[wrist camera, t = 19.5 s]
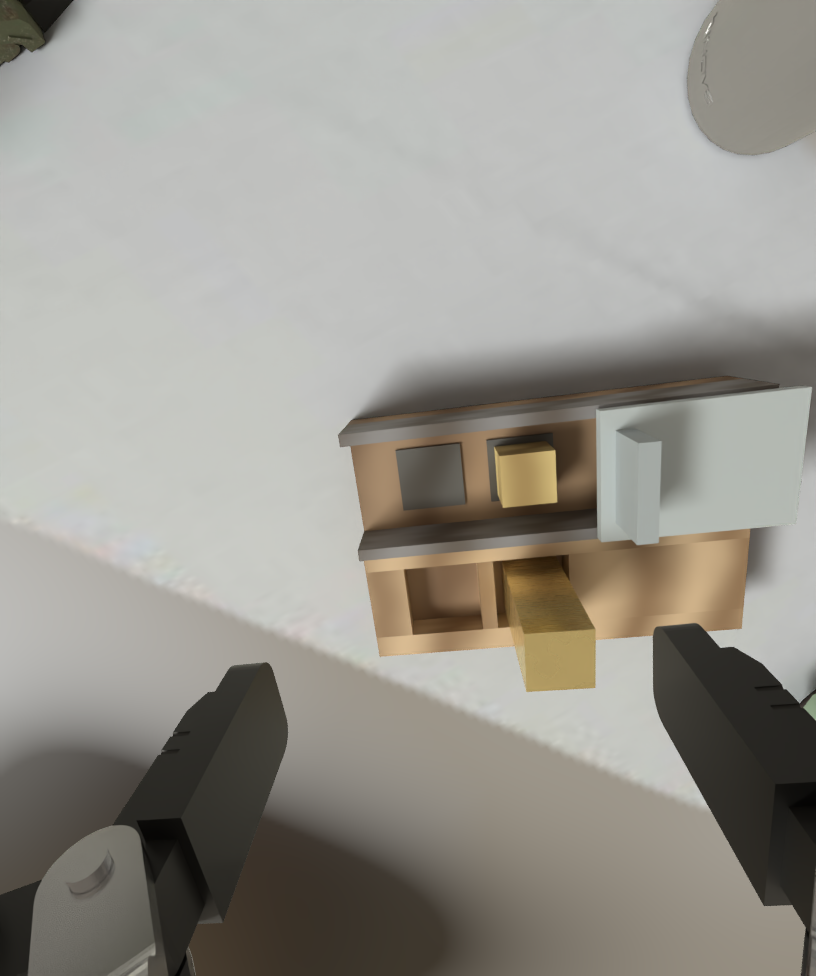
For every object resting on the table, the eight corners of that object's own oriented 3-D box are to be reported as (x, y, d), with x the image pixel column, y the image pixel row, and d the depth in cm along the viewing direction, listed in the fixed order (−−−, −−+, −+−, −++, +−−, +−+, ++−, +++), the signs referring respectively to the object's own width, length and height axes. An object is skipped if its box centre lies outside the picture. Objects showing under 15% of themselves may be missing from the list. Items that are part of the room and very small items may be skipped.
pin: (555, 599, 39) (595, 687, 29) (503, 603, 39) (526, 691, 29) (553, 552, 37) (595, 629, 28) (500, 557, 38) (523, 634, 28)
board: (727, 375, 35) (779, 384, 30) (712, 600, 40) (754, 640, 35) (351, 420, 37) (338, 435, 32) (384, 627, 42) (377, 669, 37)
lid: (802, 385, 29) (862, 394, 25) (787, 519, 32) (839, 547, 28) (595, 409, 30) (621, 421, 26) (597, 537, 33) (620, 566, 29)
